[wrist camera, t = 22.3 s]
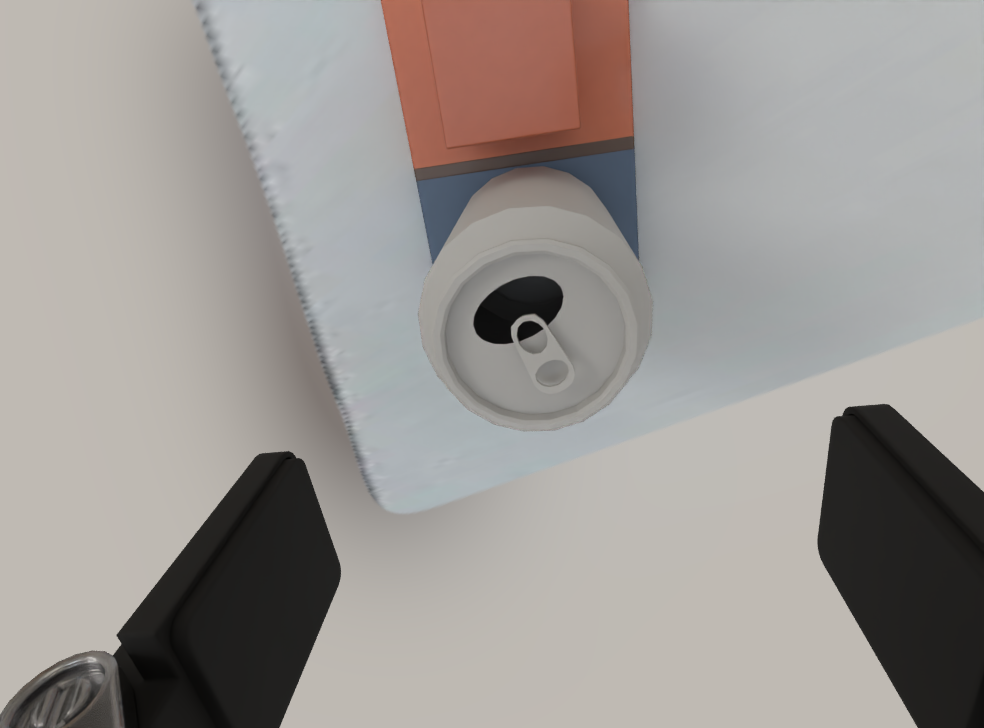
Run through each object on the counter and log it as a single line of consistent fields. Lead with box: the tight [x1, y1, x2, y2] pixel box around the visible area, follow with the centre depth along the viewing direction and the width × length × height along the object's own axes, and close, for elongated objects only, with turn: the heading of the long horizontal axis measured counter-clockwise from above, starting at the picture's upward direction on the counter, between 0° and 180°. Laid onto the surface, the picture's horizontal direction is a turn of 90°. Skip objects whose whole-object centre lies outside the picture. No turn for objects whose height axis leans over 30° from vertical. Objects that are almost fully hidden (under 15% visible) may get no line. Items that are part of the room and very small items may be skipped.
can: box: [418, 166, 653, 431], centre depth 22 cm, size 8×8×12 cm
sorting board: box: [381, 0, 639, 264], centre depth 26 cm, size 10×15×1 cm, turn 9°
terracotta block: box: [421, 0, 581, 149], centre depth 22 cm, size 5×5×5 cm
